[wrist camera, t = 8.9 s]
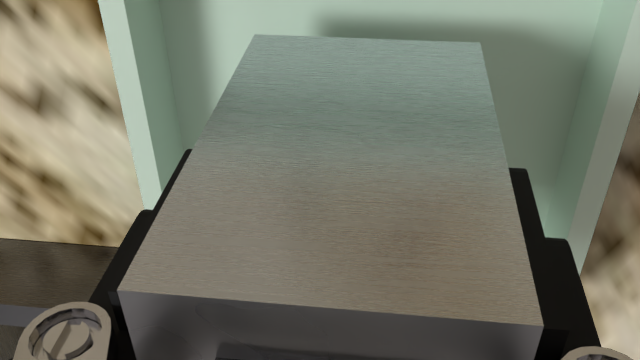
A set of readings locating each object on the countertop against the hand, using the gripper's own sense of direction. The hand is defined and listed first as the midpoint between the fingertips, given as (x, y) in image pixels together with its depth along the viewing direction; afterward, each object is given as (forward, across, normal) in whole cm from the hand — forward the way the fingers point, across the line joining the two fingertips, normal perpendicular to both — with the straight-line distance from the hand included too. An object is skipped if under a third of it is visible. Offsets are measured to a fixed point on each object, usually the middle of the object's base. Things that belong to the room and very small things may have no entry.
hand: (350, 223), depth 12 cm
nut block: (+4, 0, 0) cm, 4 cm away
